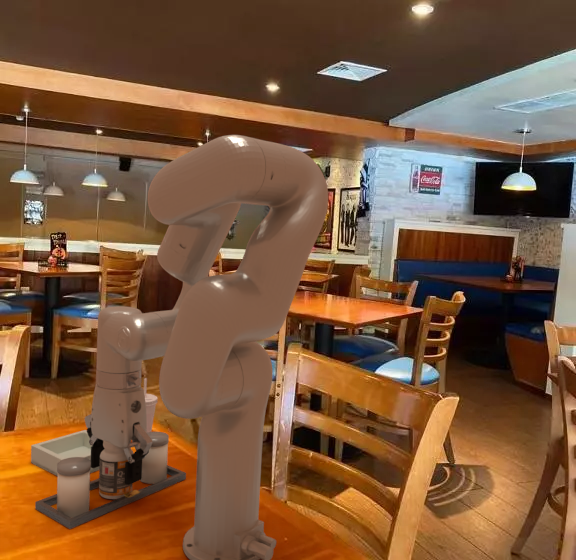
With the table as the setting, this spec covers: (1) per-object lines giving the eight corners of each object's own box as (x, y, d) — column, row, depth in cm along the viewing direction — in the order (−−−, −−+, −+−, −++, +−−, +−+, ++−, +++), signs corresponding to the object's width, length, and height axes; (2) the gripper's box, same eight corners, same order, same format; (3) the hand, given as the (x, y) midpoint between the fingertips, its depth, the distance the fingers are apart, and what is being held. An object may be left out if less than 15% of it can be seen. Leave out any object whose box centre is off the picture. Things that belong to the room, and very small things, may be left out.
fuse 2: (172, 477, 111) (174, 436, 111) (151, 486, 107) (153, 443, 107) (154, 469, 114) (155, 429, 114) (132, 478, 110) (134, 436, 110)
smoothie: (146, 448, 125) (148, 383, 123) (119, 443, 127) (121, 379, 125) (161, 438, 131) (163, 376, 129) (136, 433, 133) (138, 373, 131)
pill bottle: (123, 502, 101) (124, 446, 100) (92, 497, 102) (93, 442, 101) (138, 488, 106) (139, 435, 105) (108, 484, 107) (110, 431, 106)
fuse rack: (186, 479, 111) (186, 472, 111) (70, 529, 91) (70, 520, 91) (151, 464, 117) (151, 457, 117) (35, 508, 97) (35, 500, 97)
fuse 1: (96, 509, 98) (97, 463, 97) (68, 521, 94) (69, 472, 93) (77, 499, 101) (78, 454, 100) (49, 510, 97) (50, 463, 96)
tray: (121, 462, 117) (121, 445, 117) (67, 481, 107) (67, 462, 107) (84, 446, 124) (85, 429, 124) (31, 462, 114) (31, 445, 114)
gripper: (169, 385, 100) (165, 482, 102) (105, 365, 110) (102, 454, 112) (134, 393, 94) (130, 497, 96) (70, 372, 104) (67, 465, 106)
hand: (115, 473), depth 104 cm, fingers open, 9 cm apart
